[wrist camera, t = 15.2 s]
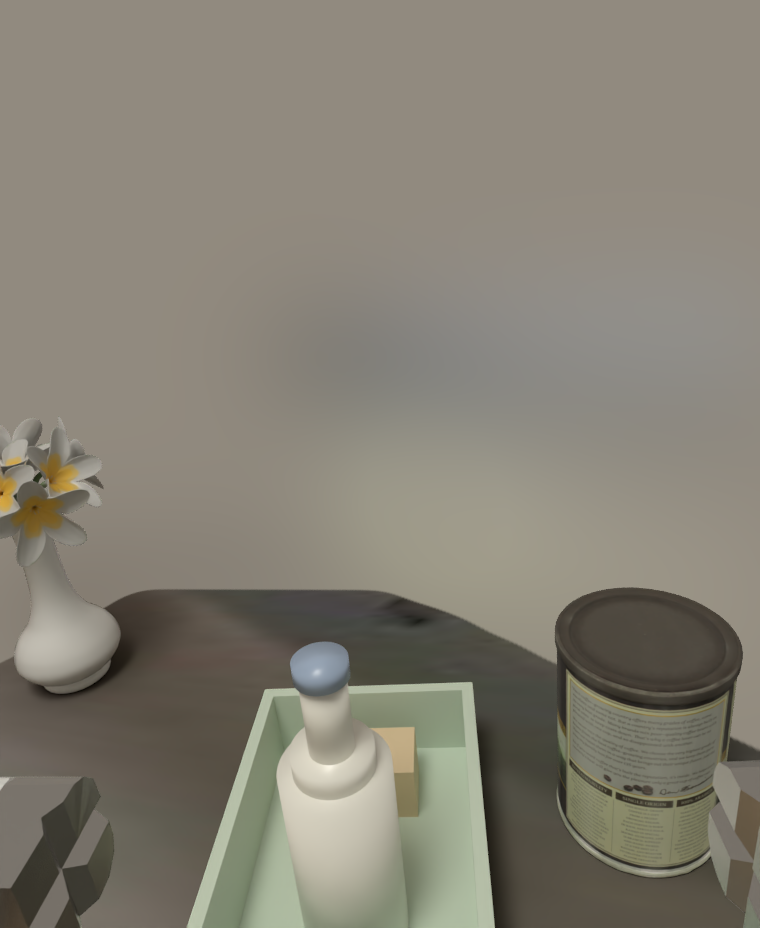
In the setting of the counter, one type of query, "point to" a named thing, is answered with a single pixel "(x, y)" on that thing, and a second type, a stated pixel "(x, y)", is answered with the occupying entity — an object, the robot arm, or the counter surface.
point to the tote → (422, 838)
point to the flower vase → (53, 558)
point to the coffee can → (642, 725)
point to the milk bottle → (340, 804)
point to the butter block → (404, 767)
